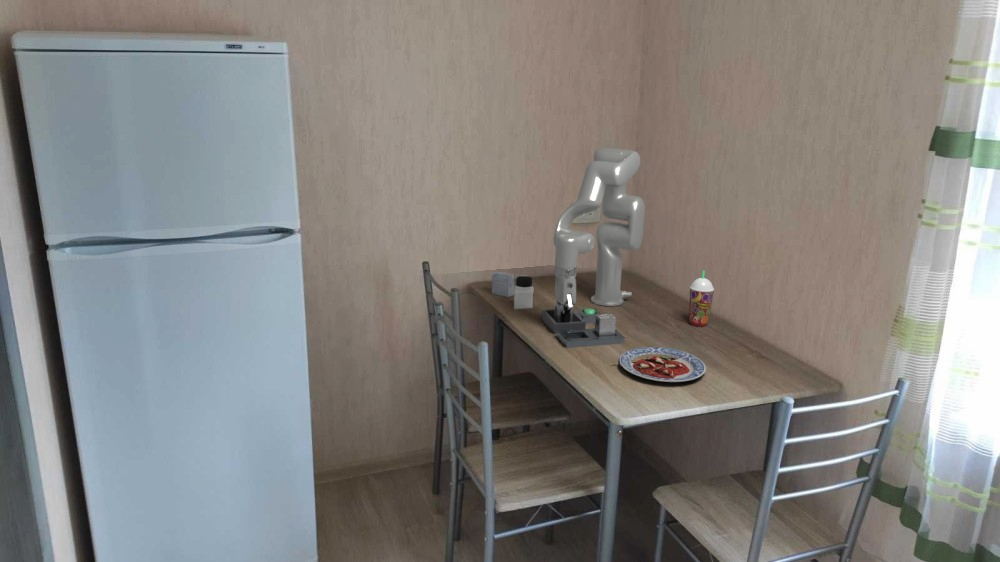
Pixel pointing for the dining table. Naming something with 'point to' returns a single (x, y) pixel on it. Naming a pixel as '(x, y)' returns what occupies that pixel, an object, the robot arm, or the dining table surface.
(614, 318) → the billet
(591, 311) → the button
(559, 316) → the billet
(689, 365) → the ceramic plate
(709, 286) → the smoothie
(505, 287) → the medicine box
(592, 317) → the button housing
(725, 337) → the dining table surface
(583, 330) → the pallet
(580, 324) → the tote
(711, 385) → the dining table surface
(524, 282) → the medicine bottle
